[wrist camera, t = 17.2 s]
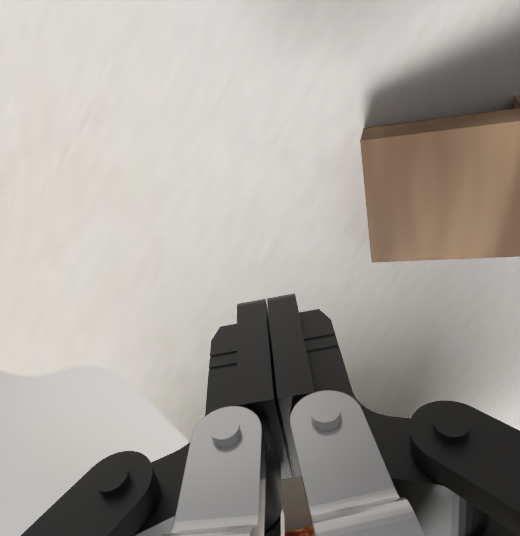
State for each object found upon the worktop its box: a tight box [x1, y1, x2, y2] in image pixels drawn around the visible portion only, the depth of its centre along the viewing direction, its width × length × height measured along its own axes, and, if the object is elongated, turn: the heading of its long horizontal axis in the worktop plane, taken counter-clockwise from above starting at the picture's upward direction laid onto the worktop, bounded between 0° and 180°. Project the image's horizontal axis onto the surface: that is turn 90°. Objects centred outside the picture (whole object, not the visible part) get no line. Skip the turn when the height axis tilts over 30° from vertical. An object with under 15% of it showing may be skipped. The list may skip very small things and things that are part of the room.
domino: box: [360, 108, 520, 262], centre depth 17 cm, size 2×5×10 cm
